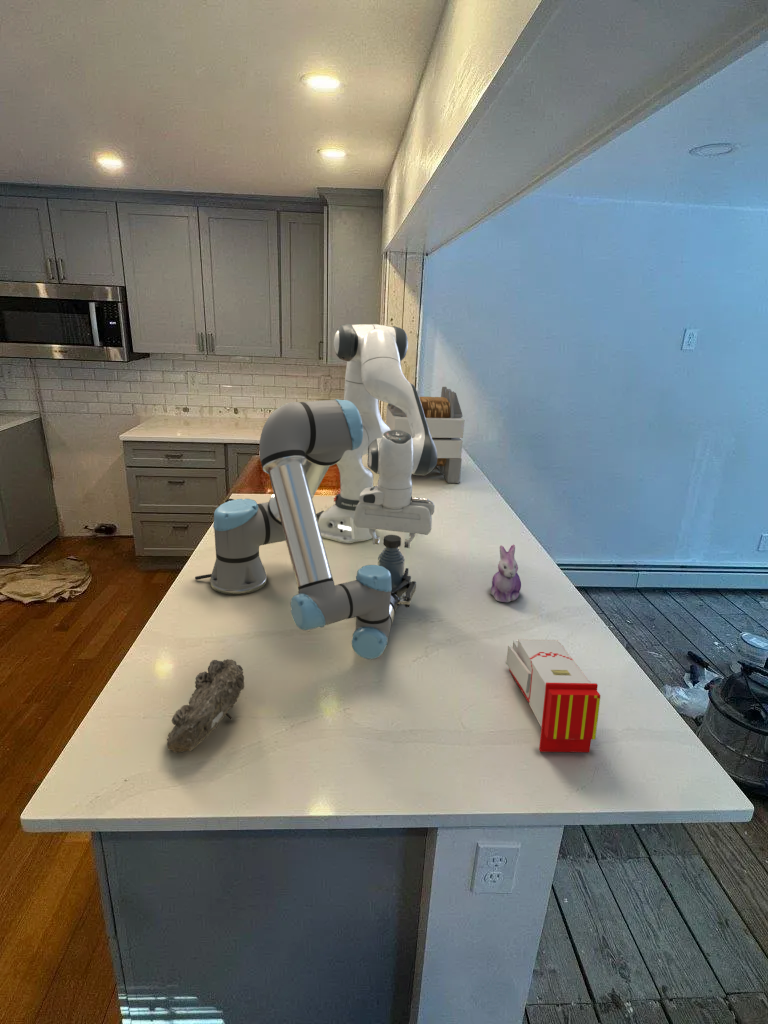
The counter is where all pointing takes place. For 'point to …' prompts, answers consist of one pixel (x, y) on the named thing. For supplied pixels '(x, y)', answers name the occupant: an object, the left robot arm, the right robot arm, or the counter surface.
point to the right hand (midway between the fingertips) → (391, 545)
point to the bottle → (393, 565)
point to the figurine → (506, 577)
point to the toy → (556, 694)
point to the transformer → (438, 430)
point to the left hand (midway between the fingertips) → (392, 571)
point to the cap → (392, 541)
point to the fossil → (206, 705)
